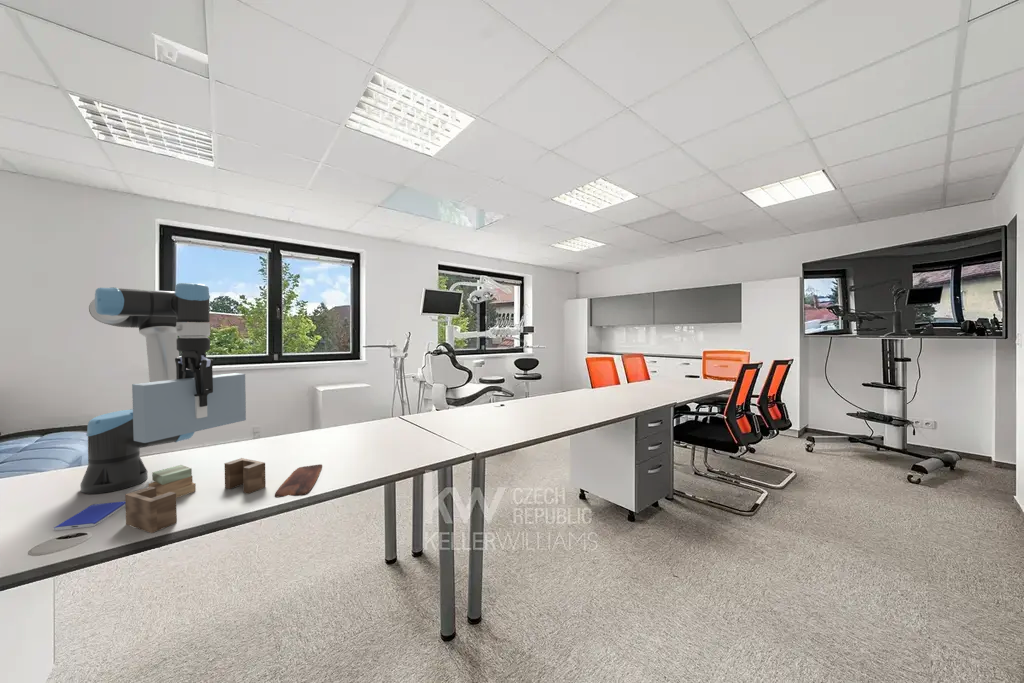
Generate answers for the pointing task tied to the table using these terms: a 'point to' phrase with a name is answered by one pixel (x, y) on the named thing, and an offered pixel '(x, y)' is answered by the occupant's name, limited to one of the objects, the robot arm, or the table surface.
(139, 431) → the slate panel
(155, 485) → the offcut stack
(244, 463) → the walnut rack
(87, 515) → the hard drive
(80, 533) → the table surface
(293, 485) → the wooden tablet
